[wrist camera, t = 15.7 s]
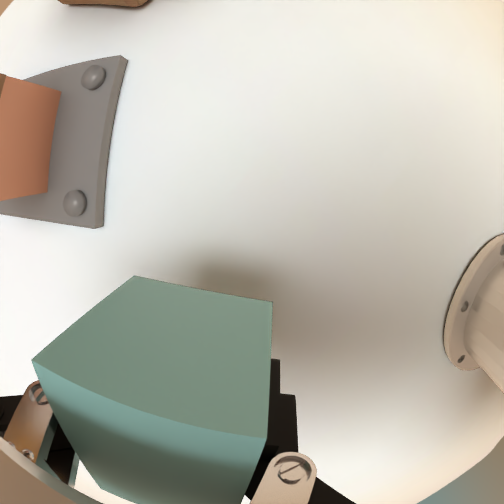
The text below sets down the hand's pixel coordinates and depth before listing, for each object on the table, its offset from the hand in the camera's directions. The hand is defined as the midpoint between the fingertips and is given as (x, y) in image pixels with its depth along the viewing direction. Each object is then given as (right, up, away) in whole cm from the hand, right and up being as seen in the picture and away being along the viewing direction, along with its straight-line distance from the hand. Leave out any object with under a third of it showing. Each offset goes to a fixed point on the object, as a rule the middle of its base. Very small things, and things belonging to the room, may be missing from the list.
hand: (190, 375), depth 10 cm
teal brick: (0, 0, +1) cm, 1 cm away
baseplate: (-13, +13, +5) cm, 19 cm away
